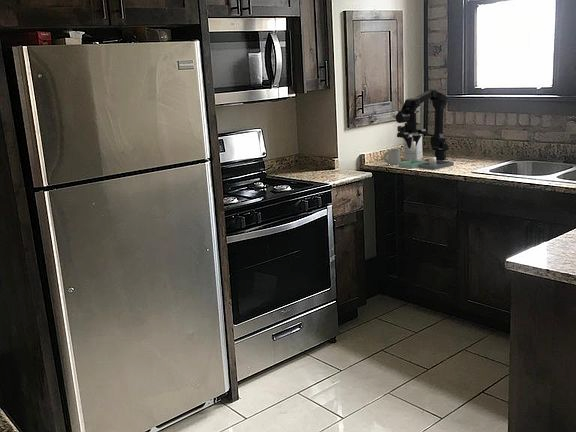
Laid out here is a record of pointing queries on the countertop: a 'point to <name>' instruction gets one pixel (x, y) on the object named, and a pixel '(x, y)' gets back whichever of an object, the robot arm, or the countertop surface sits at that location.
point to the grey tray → (438, 165)
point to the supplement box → (413, 151)
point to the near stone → (413, 145)
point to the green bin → (411, 163)
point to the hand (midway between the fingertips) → (412, 148)
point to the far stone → (432, 161)
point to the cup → (392, 157)
